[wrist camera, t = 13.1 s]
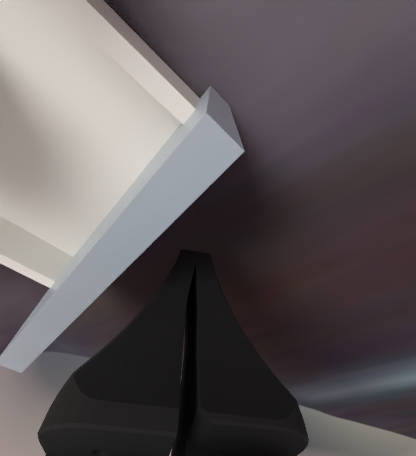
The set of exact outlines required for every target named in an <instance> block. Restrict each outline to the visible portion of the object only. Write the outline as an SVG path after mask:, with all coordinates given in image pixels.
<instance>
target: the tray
mask: <svg viewBox="0 0 416 456" xmlns="http://www.w3.org/2000/svg"><path fill="white" fill-rule="evenodd" d="M243 152H244V148H243V145H242V142H241V139H240V136H239V133H238V130H237V127H236V124H235V121H234V118H233V115H232V113H231V110H230V107H229V105H228V104H227V103H226V102H225V100H224V99H223V98H222V97H221V96H220V95H219V94H218V93H217V92H216V91H215V90H214V89H213V88H212V87H211V86H210V87H209V88H208V89H207V90H206V92H205V93H204V94H203V95H202V96H201V98H199V97H198V96H197V95H196V94H195V93H194V92H193V91H192V90H191V89H190V88H189V87H188V86H187V85H186V84H185V83H184V82H183V81H182V80H181V79H180V78H179V77H178V76H177V75H176V74H175V73H174V72H173V71H172V70H171V69H170V68H169V66H168V65H167V64H166V63H165V62H164V61H163V60H162V59H161V58H160V57H159V56H158V55H157V54H156V53H155V52H154V51H153V50H152V49H151V48H150V47H149V46H148V45H147V44H146V43H145V42H144V41H143V40H142V39H141V38H140V37H139V36H138V35H137V34H136V33H135V32H134V31H133V30H132V29H131V28H130V27H129V26H128V25H127V24H126V23H125V22H124V21H123V20H122V19H121V18H120V17H119V16H118V14H117V13H116V12H115V11H114V10H113V9H112V8H111V7H110V6H109V5H108V4H107V3H106V2H105V1H104V0H0V263H1V264H3V265H5V266H7V267H9V268H11V269H13V270H15V271H17V272H19V273H21V274H23V275H25V276H27V277H29V278H31V279H33V280H35V281H37V282H39V283H41V284H43V285H45V286H47V287H49V290H48V291H47V292H46V294H45V295H44V296H43V298H42V299H41V301H40V302H39V303H38V305H37V306H36V307H35V309H34V310H33V312H32V313H31V314H30V316H29V317H28V318H27V320H26V321H25V323H24V324H23V325H22V327H21V328H20V329H19V331H18V332H17V334H16V335H15V336H14V338H13V339H12V341H11V342H10V343H9V345H8V346H7V347H6V349H5V350H4V352H3V353H2V354H1V356H0V365H1V366H4V367H6V368H9V369H12V370H15V371H18V372H20V373H21V372H22V371H24V369H26V368H27V367H28V365H30V364H31V363H32V362H33V361H34V360H35V359H36V358H37V357H38V356H39V355H40V354H41V353H42V352H43V351H44V350H45V349H46V348H47V347H48V346H49V345H50V344H51V343H52V342H53V341H54V340H55V339H56V338H57V337H58V336H59V335H60V334H61V333H62V332H63V331H64V330H65V329H66V328H67V327H68V326H69V325H70V324H71V323H72V322H73V321H74V320H75V319H76V318H77V317H78V316H79V315H80V314H81V313H82V312H83V311H84V310H85V309H86V308H87V307H88V306H89V305H90V304H91V303H92V302H93V301H94V300H95V299H96V298H97V297H98V296H99V295H100V294H101V293H102V292H103V291H104V290H105V289H106V288H107V287H108V286H109V285H110V284H111V283H112V282H113V281H114V280H115V279H116V278H117V277H118V276H119V275H120V274H121V273H122V272H123V271H124V270H125V269H126V268H127V267H128V266H129V265H130V264H131V263H132V262H134V261H135V260H136V259H137V258H138V257H139V256H140V255H141V254H142V253H143V252H144V251H145V250H146V249H147V248H148V247H149V246H150V245H151V244H152V243H153V242H154V241H155V240H156V239H157V238H158V237H159V236H160V235H161V234H162V233H163V232H164V231H165V230H166V229H167V228H168V227H169V226H170V225H171V224H172V223H173V222H174V221H175V220H176V219H177V218H178V217H179V216H180V215H181V214H182V213H183V212H184V211H185V210H186V209H187V208H188V207H189V206H190V205H191V204H192V203H193V202H194V201H195V200H196V199H197V198H198V197H199V196H200V195H201V194H202V193H203V192H204V191H205V190H206V189H207V188H208V187H209V186H210V185H211V184H212V183H213V182H214V181H215V180H216V179H217V178H218V177H219V176H220V175H221V174H222V173H223V172H224V171H225V170H226V169H227V168H228V167H229V166H230V165H231V164H232V163H233V162H234V161H235V160H236V159H237V158H238V157H239V156H240V155H241V154H242V153H243Z"/></svg>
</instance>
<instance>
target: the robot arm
mask: <svg viewBox="0 0 416 456" xmlns="http://www.w3.org/2000/svg"><path fill="white" fill-rule="evenodd" d="M185 315H186V320H185ZM184 326H185V349H184V361H183V369H182V377H181V366H182V352H183V338H184ZM180 383H181V385H180ZM38 439H39V442H40V444H41V446H42V447H43V449H44V451H45V453H46V456H169V454H170V452H171V449H172V453H171V456H297V455H298V454H300V453H301V452H302V451H303V450H304V449H305V448H306V447H307V445H308V435H307V431H306V427H305V423H304V420H303V417H302V414H301V412H300V409H299V406H298V403H297V400H296V399H295V398H294V397H293V396H292V395H291V394H290V392H289V391H288V390H287V389H286V388H285V387H284V386H283V384H282V383H281V382H280V381H279V380H278V379H277V377H276V376H275V375H274V374H273V372H272V371H271V370H270V369H269V367H268V366H267V365H266V364H265V362H264V361H263V360H262V358H261V357H260V355H259V354H258V352H257V351H256V350H255V348H254V347H253V345H252V344H251V343H250V341H249V340H248V338H247V337H246V335H245V333H244V332H243V330H242V329H241V327H240V325H239V323H238V322H237V320H236V318H235V316H234V315H233V313H232V311H231V309H230V307H229V305H228V303H227V301H226V298H225V296H224V294H223V292H222V289H221V287H220V284H219V282H218V279H217V276H216V273H215V270H214V267H213V264H212V260H211V256H210V255H209V254H207V253H202V252H196V251H190V250H184V249H183V250H181V251H180V254H179V256H178V259H177V261H176V263H175V265H174V267H173V269H172V270H171V272H170V274H169V275H168V277H167V278H166V280H165V281H164V283H163V284H162V286H161V287H160V288H159V290H158V291H157V293H156V294H155V295H154V296H153V298H152V299H151V300H150V301H149V303H148V304H147V305H146V306H145V307H144V308H143V310H142V311H141V312H140V313H139V314H138V315H137V316H136V317H135V318H134V319H133V320H132V321H131V323H130V324H129V325H128V326H127V327H126V328H125V329H124V330H122V331H121V332H120V333H119V334H118V335H117V336H116V337H115V338H114V339H113V340H112V341H110V342H109V343H108V344H107V345H106V346H105V347H104V348H103V349H102V350H100V351H99V352H98V353H97V354H96V355H94V356H93V357H92V358H91V359H89V360H88V361H87V362H86V363H84V364H83V365H82V366H81V367H79V368H78V369H77V370H76V371H75V372H73V374H72V375H71V376H70V378H69V379H68V380H67V382H66V383H65V384H64V386H63V387H62V389H61V390H60V392H59V393H58V395H57V396H56V398H55V400H54V401H53V403H52V405H51V407H50V408H49V411H48V412H47V415H46V417H45V419H44V421H43V423H42V425H41V427H40V429H39V432H38Z"/></svg>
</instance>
